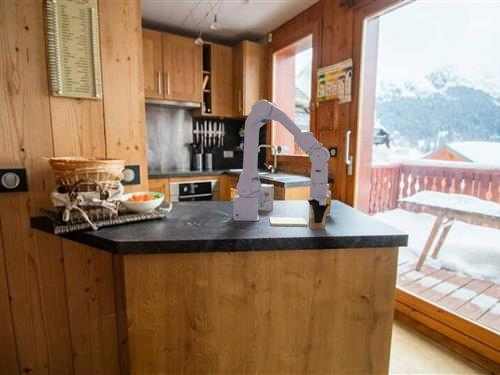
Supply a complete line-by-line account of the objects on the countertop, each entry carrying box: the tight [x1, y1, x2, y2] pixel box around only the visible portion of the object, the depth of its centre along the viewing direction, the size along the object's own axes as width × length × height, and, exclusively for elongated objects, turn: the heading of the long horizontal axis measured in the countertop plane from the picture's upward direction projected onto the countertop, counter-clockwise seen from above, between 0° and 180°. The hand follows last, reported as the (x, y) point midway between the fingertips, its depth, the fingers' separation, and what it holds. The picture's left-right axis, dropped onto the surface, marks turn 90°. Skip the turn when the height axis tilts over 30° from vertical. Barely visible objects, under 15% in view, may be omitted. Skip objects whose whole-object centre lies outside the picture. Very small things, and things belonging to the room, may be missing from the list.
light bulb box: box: [258, 183, 275, 212], centre depth 130 cm, size 11×7×11 cm, turn 73°
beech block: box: [308, 204, 327, 229], centre depth 102 cm, size 5×4×8 cm
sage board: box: [269, 216, 309, 227], centre depth 108 cm, size 13×9×1 cm
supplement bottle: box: [326, 183, 332, 217], centre depth 120 cm, size 7×7×13 cm
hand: (316, 221), depth 103 cm, fingers closed on beech block, 3 cm apart
